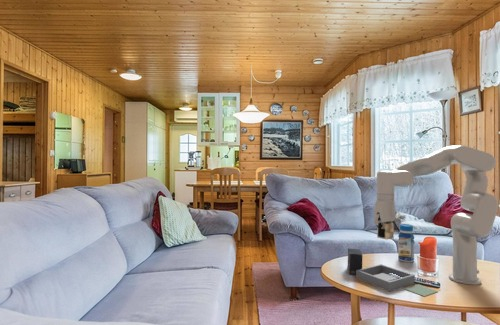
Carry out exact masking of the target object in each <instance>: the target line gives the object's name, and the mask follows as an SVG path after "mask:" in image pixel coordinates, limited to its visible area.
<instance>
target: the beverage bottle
mask: <svg viewBox="0 0 500 325" xmlns="http://www.w3.org/2000/svg"><path fill="white" fill-rule="evenodd" d="M413 232H414V226H413V225H412V224H410V223H409V224H408V223H401V224H399V234H398V236H397V238H398V240H397V242H398V243H397V244H398V247H397V248H398V252H397V253H398V257H397V258H398V260H399V261H401V262H405V263H412V262H414V261H415V243H416V242H415V240H414V239H415V235H414V233H413Z"/></svg>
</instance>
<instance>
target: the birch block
mask: <svg viewBox="0 0 500 325" xmlns="http://www.w3.org/2000/svg"><path fill="white" fill-rule="evenodd" d="M380 224H381V225H382V223H380ZM394 224H395V223H389V222H385V224H384V229H385V237H384V238H383V237H379V236H378V228H377V227H376V228H377V229H376V232H377V233H376V236H377V237H376V238H377V239H378V238H379V239H383V240H392V239H394V232H395V231H394V226H395V225H394Z"/></svg>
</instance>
